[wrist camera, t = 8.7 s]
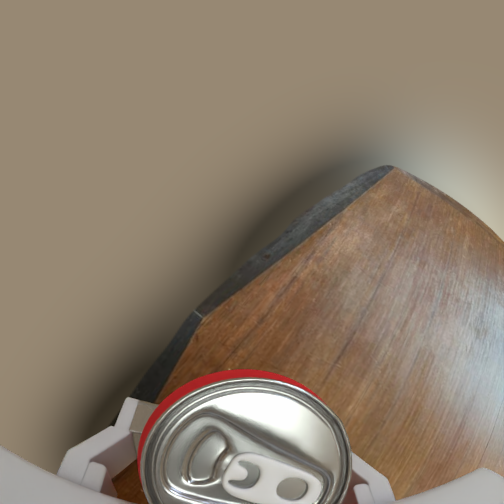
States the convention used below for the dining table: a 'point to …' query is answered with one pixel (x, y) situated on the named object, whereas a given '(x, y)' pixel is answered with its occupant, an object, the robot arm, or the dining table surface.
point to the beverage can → (244, 444)
